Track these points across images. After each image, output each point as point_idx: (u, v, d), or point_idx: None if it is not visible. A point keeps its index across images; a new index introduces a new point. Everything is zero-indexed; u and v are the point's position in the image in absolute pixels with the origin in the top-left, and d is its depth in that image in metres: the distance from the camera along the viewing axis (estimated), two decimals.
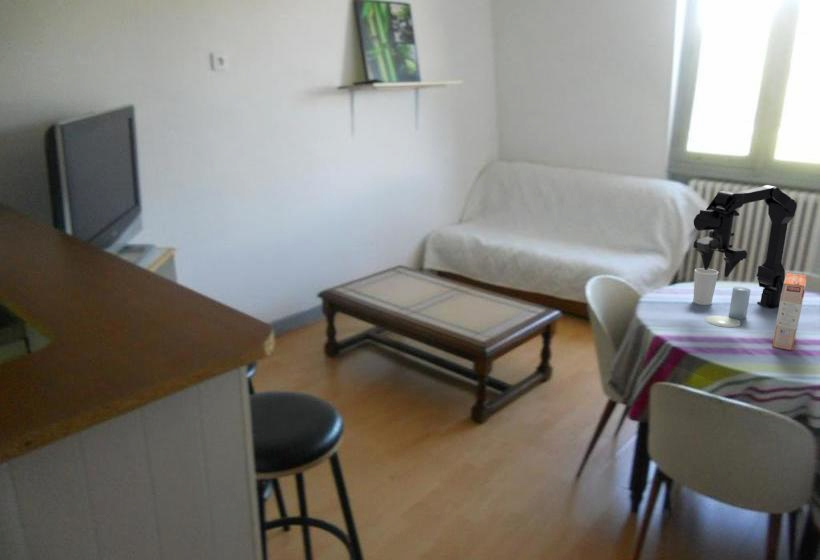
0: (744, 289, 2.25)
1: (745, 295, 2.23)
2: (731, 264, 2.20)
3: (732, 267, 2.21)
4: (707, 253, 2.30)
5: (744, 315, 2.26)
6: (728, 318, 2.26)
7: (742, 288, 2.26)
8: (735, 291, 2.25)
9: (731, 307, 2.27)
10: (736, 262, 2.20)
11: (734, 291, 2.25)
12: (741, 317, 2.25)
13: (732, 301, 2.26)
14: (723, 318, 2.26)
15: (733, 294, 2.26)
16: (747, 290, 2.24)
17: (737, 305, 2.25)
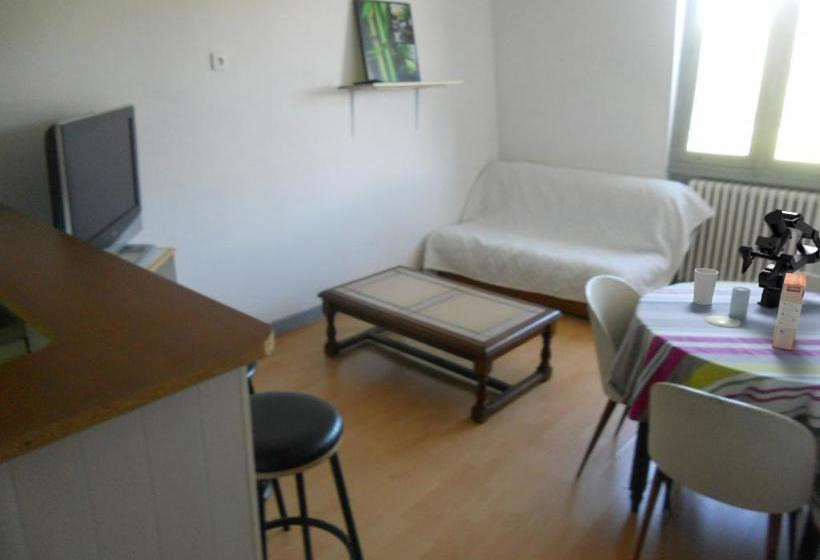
0: (744, 289, 2.25)
1: (745, 295, 2.23)
2: (777, 270, 2.25)
3: (776, 273, 2.25)
4: (749, 260, 2.33)
5: (744, 315, 2.26)
6: (728, 318, 2.26)
7: (742, 288, 2.26)
8: (735, 291, 2.25)
9: (731, 307, 2.27)
10: (781, 271, 2.25)
11: (734, 291, 2.25)
12: (741, 317, 2.25)
13: (732, 301, 2.26)
14: (723, 318, 2.26)
15: (733, 294, 2.26)
16: (747, 290, 2.24)
17: (737, 305, 2.25)
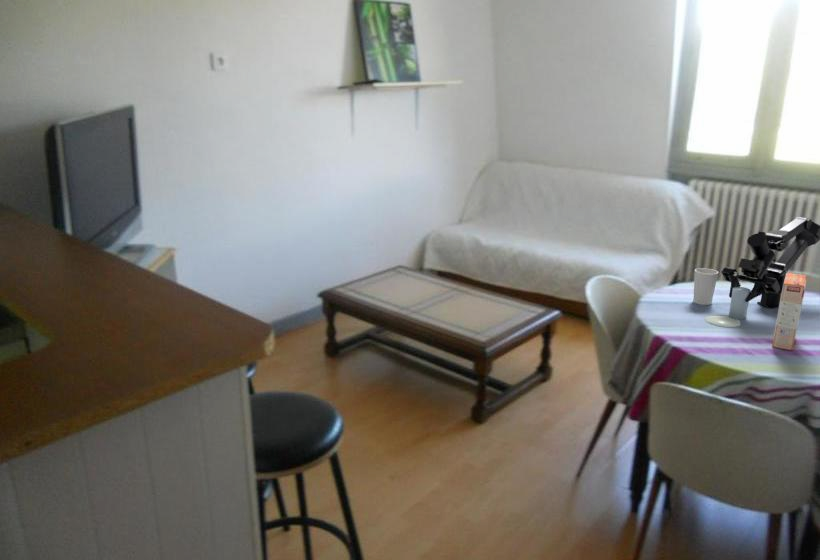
0: (744, 289, 2.25)
1: (745, 294, 2.23)
2: (756, 292, 2.23)
3: (755, 295, 2.24)
4: (737, 283, 2.29)
5: (744, 315, 2.26)
6: (728, 318, 2.26)
7: (742, 288, 2.26)
8: (735, 291, 2.25)
9: (731, 307, 2.27)
10: (760, 293, 2.24)
11: (734, 291, 2.25)
12: (741, 317, 2.25)
13: (732, 301, 2.26)
14: (723, 318, 2.26)
15: (733, 294, 2.26)
16: (747, 290, 2.24)
17: (737, 305, 2.25)
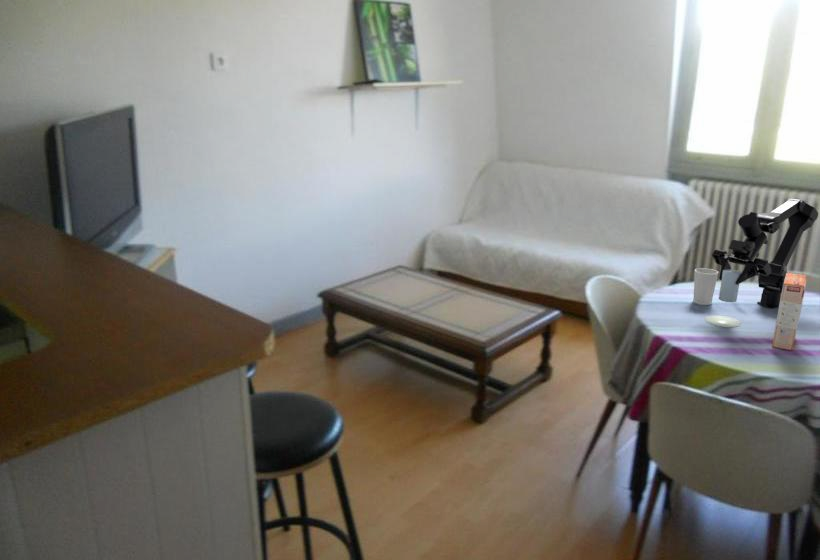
0: (734, 271, 2.19)
1: (735, 277, 2.17)
2: (747, 274, 2.17)
3: (745, 278, 2.17)
4: (727, 265, 2.23)
5: (734, 298, 2.19)
6: (728, 318, 2.26)
7: (732, 270, 2.20)
8: (725, 273, 2.18)
9: (721, 290, 2.21)
10: (751, 275, 2.18)
11: (725, 273, 2.19)
12: (731, 300, 2.19)
13: (722, 283, 2.20)
14: (723, 318, 2.26)
15: (723, 276, 2.19)
16: (738, 272, 2.18)
17: (727, 287, 2.19)
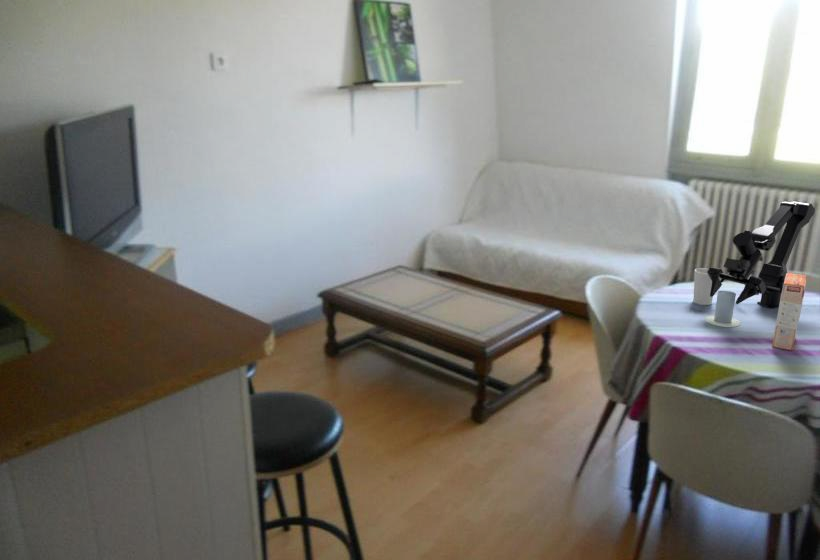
0: (729, 293, 2.21)
1: (730, 299, 2.18)
2: (747, 293, 2.17)
3: (745, 297, 2.17)
4: (718, 282, 2.25)
5: (729, 319, 2.21)
6: None
7: (727, 292, 2.22)
8: (720, 295, 2.20)
9: (716, 311, 2.22)
10: (751, 294, 2.17)
11: (719, 295, 2.20)
12: (726, 321, 2.21)
13: (717, 305, 2.22)
14: None
15: (718, 298, 2.21)
16: (732, 294, 2.19)
17: (722, 309, 2.20)
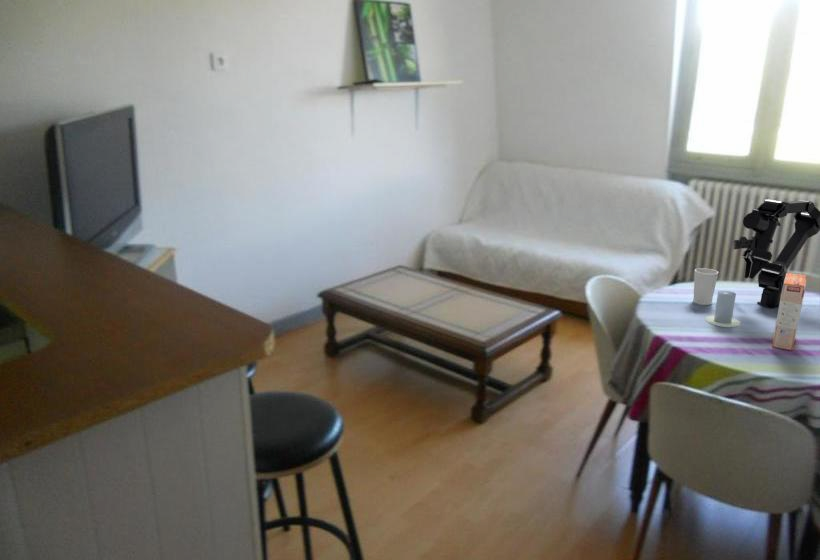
0: (729, 293, 2.21)
1: (730, 299, 2.18)
2: (756, 265, 2.22)
3: (757, 269, 2.22)
4: (751, 262, 2.32)
5: (729, 319, 2.21)
6: None
7: (727, 292, 2.22)
8: (720, 295, 2.20)
9: (716, 311, 2.22)
10: (762, 265, 2.21)
11: (719, 295, 2.20)
12: (726, 321, 2.21)
13: (717, 305, 2.22)
14: None
15: (718, 298, 2.21)
16: (732, 294, 2.19)
17: (722, 309, 2.20)
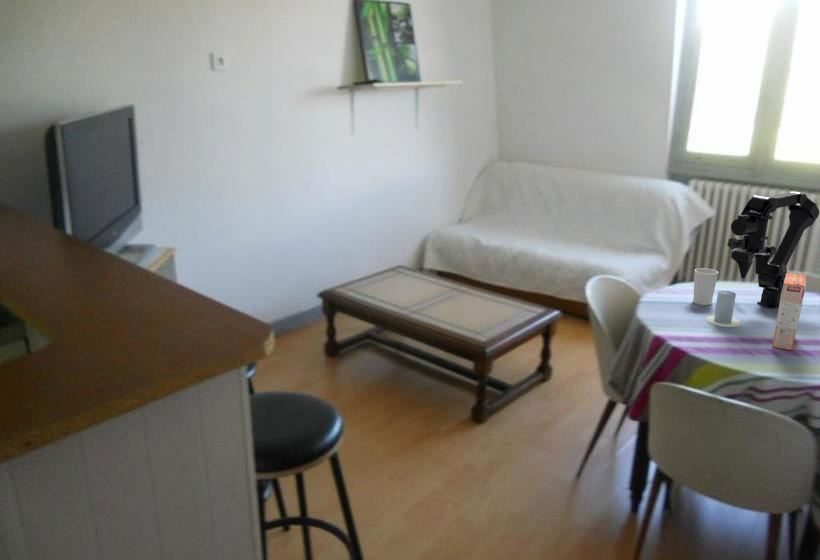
0: (729, 293, 2.21)
1: (730, 299, 2.18)
2: (743, 266, 2.25)
3: (744, 269, 2.25)
4: (760, 258, 2.31)
5: (729, 319, 2.21)
6: None
7: (727, 292, 2.22)
8: (720, 295, 2.20)
9: (716, 311, 2.22)
10: (747, 265, 2.24)
11: (719, 295, 2.20)
12: (726, 321, 2.21)
13: (717, 305, 2.22)
14: None
15: (718, 298, 2.21)
16: (732, 294, 2.19)
17: (722, 309, 2.20)
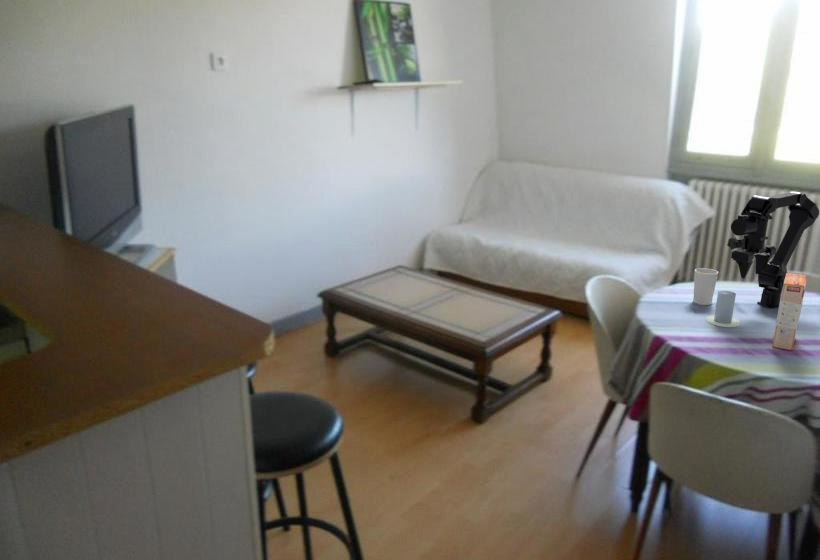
0: (729, 293, 2.21)
1: (730, 299, 2.18)
2: (743, 266, 2.25)
3: (744, 269, 2.25)
4: (760, 258, 2.31)
5: (729, 319, 2.21)
6: None
7: (727, 292, 2.22)
8: (720, 295, 2.20)
9: (716, 311, 2.22)
10: (747, 265, 2.24)
11: (719, 295, 2.20)
12: (726, 321, 2.21)
13: (717, 305, 2.22)
14: None
15: (718, 298, 2.21)
16: (732, 294, 2.19)
17: (722, 309, 2.20)
